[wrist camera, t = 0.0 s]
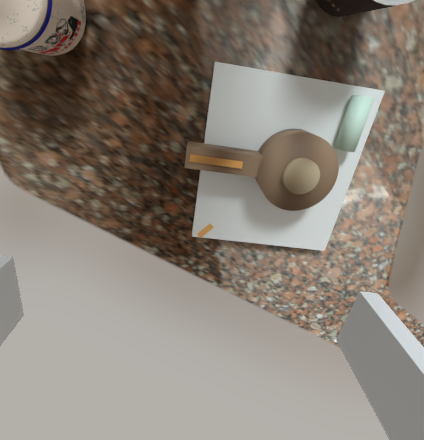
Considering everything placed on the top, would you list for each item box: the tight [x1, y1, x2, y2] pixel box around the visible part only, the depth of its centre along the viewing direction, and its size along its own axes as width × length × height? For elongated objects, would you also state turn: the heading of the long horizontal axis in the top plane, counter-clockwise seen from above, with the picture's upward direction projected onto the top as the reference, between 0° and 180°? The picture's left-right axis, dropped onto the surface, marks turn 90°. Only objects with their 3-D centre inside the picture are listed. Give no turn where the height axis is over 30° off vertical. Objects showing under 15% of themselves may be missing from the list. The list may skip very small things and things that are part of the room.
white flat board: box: [192, 62, 385, 251], centre depth 36 cm, size 22×20×4 cm
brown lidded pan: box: [185, 129, 339, 211], centre depth 33 cm, size 18×9×5 cm, turn 82°
